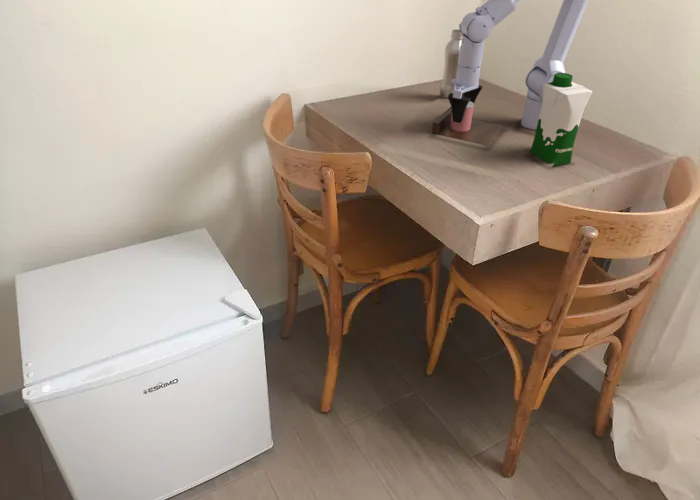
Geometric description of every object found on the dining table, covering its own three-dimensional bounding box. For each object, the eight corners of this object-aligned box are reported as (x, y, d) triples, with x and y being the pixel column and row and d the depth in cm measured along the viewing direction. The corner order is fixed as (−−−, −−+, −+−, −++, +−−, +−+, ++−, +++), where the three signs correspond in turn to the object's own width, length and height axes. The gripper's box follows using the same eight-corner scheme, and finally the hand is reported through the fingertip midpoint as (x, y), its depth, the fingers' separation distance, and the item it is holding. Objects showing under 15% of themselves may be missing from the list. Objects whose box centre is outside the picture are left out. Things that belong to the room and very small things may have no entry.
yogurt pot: (473, 126, 145) (477, 102, 141) (466, 133, 141) (470, 108, 137) (453, 122, 147) (457, 98, 143) (446, 129, 143) (450, 104, 139)
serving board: (502, 130, 147) (505, 115, 144) (486, 150, 136) (489, 134, 133) (450, 119, 152) (452, 104, 150) (431, 137, 142) (433, 122, 139)
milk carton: (551, 149, 137) (571, 70, 125) (576, 164, 130) (600, 82, 119) (523, 155, 134) (541, 74, 122) (547, 170, 127) (569, 86, 116)
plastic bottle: (463, 98, 167) (473, 30, 155) (454, 104, 162) (464, 35, 151) (444, 94, 170) (452, 27, 158) (435, 100, 165) (443, 31, 153)
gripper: (463, 55, 142) (456, 106, 149) (444, 69, 131) (437, 123, 139) (489, 60, 139) (481, 110, 147) (472, 74, 128) (464, 128, 136)
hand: (461, 117), depth 143 cm, fingers open, 7 cm apart
